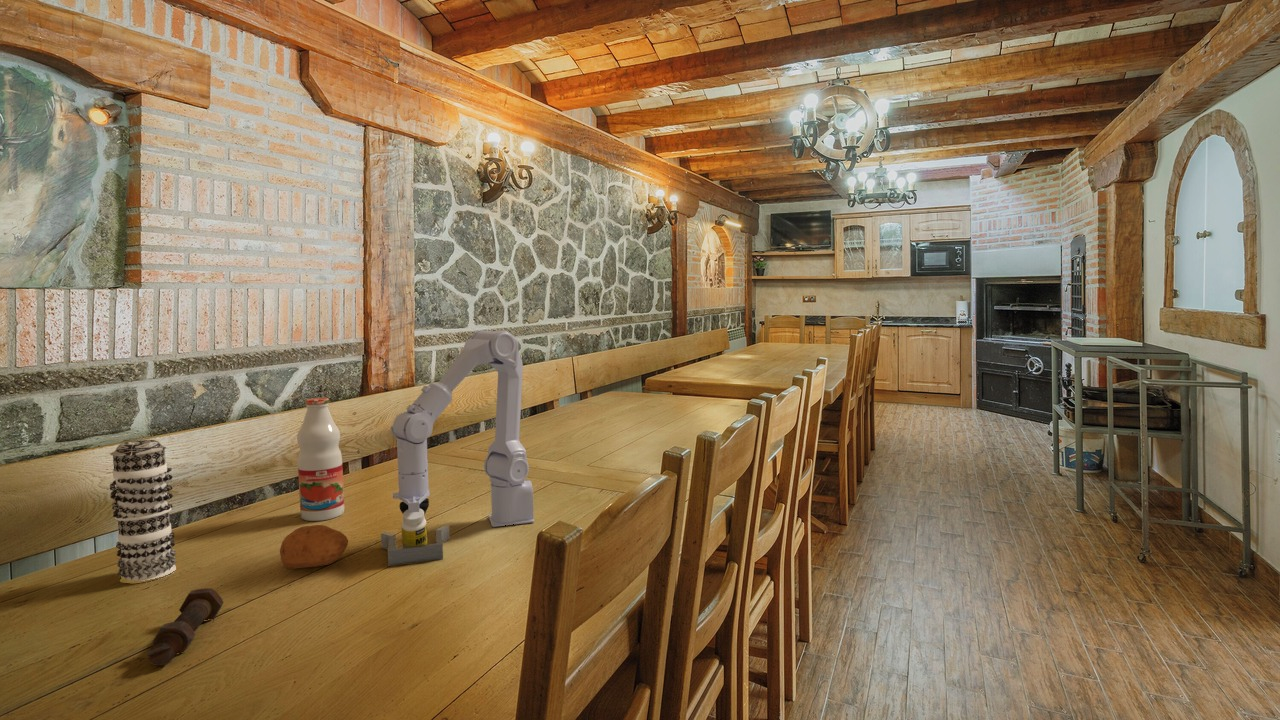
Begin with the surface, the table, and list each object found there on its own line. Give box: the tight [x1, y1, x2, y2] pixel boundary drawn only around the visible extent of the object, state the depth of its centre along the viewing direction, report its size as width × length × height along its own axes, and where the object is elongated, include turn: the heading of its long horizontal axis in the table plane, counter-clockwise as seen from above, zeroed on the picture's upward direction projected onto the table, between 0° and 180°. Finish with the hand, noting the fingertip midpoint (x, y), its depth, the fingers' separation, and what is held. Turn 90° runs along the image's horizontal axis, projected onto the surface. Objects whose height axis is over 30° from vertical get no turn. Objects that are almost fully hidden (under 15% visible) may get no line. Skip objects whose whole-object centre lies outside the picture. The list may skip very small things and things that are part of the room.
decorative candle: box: [109, 439, 177, 581], centre depth 117 cm, size 9×9×25 cm
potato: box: [279, 524, 349, 569], centre depth 122 cm, size 9×11×8 cm
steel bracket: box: [380, 524, 450, 567], centre depth 128 cm, size 13×11×3 cm
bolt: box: [146, 587, 224, 666], centre depth 94 cm, size 6×5×15 cm
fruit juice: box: [296, 397, 345, 522], centre depth 150 cm, size 9×9×28 cm
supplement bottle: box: [400, 508, 428, 548], centre depth 127 cm, size 5×5×8 cm
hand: (415, 536), depth 130 cm, fingers closed
